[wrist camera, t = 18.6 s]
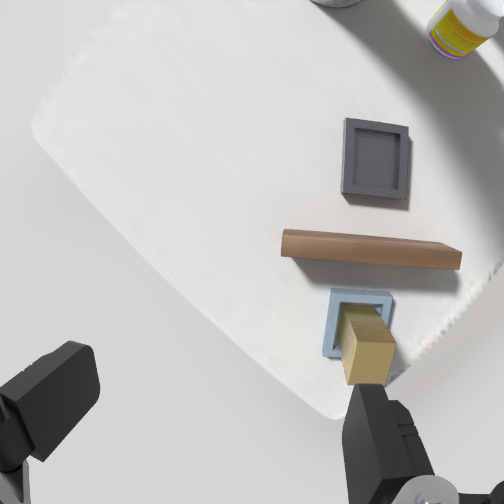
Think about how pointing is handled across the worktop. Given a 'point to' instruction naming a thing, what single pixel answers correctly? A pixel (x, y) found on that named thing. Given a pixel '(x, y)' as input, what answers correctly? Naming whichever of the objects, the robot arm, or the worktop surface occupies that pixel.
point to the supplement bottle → (464, 25)
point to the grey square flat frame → (374, 158)
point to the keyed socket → (351, 297)
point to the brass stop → (365, 345)
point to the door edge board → (368, 249)
